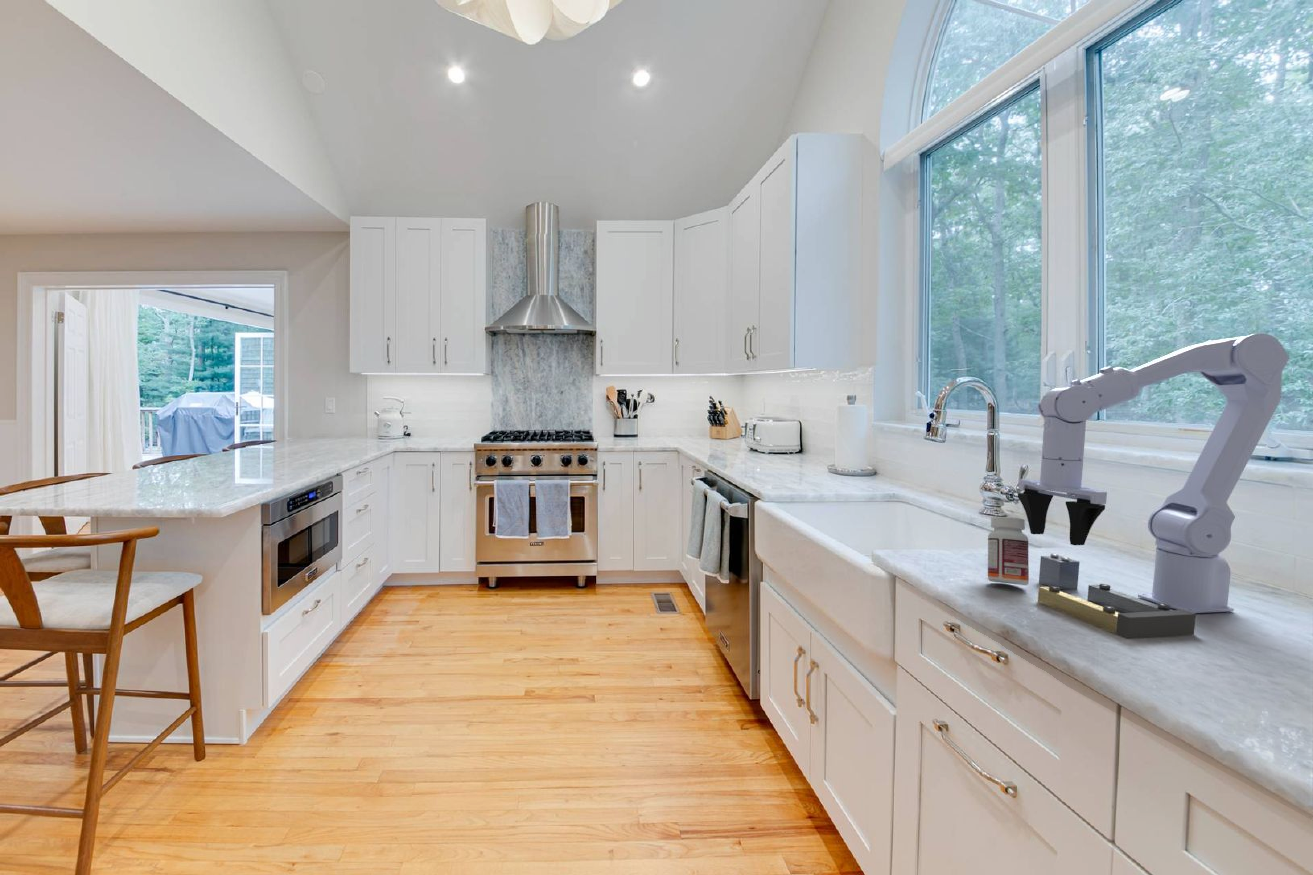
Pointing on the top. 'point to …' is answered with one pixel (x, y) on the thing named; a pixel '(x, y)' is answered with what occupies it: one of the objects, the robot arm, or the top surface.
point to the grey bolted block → (1059, 572)
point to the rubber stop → (1155, 624)
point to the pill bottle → (1008, 551)
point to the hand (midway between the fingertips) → (1056, 539)
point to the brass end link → (1079, 608)
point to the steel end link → (1122, 600)
